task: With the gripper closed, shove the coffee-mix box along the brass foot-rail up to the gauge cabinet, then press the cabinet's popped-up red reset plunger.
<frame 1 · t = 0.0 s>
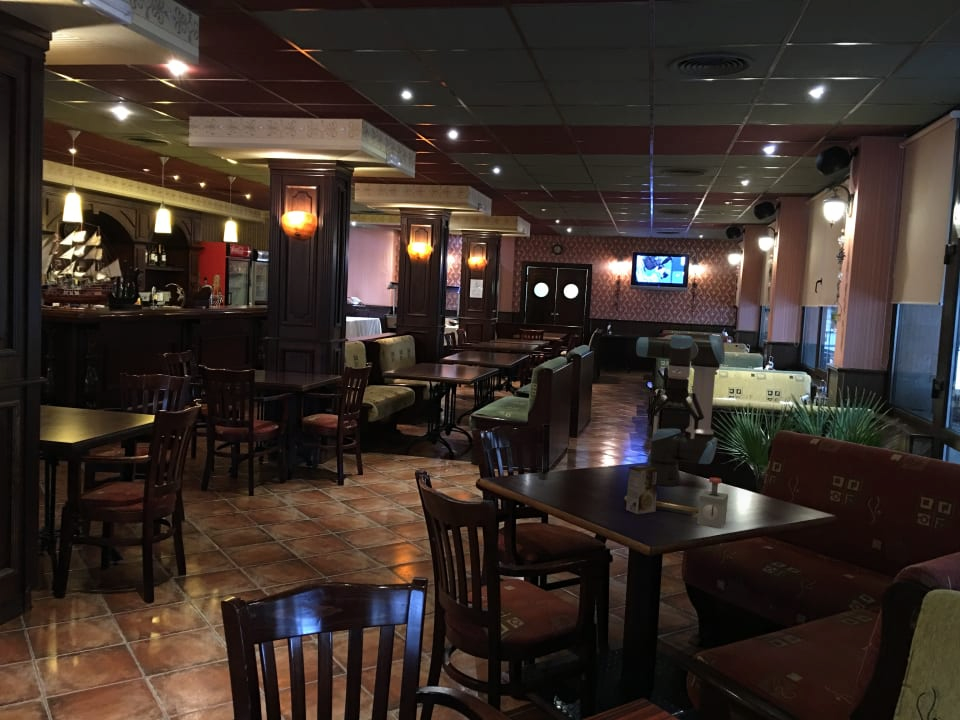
hand: (673, 435, 275), 28 cm above the table, fingers open, 13 cm apart
reset plunger: (714, 486, 264), point 13 cm above the table, slide at 0.0 cm
gauge cabinet: (711, 523, 265), on the table
coffee box: (640, 511, 275), on the table
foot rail: (663, 510, 278), on the table
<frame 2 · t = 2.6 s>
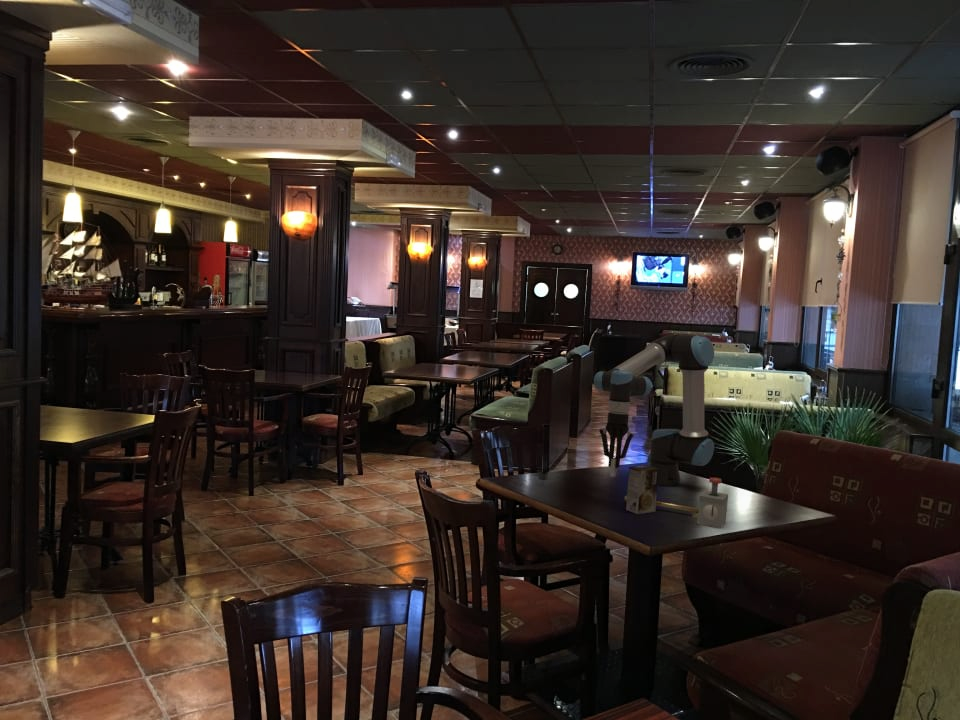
hand: (613, 476, 279), 11 cm above the table, fingers closed
nothing on the table moved.
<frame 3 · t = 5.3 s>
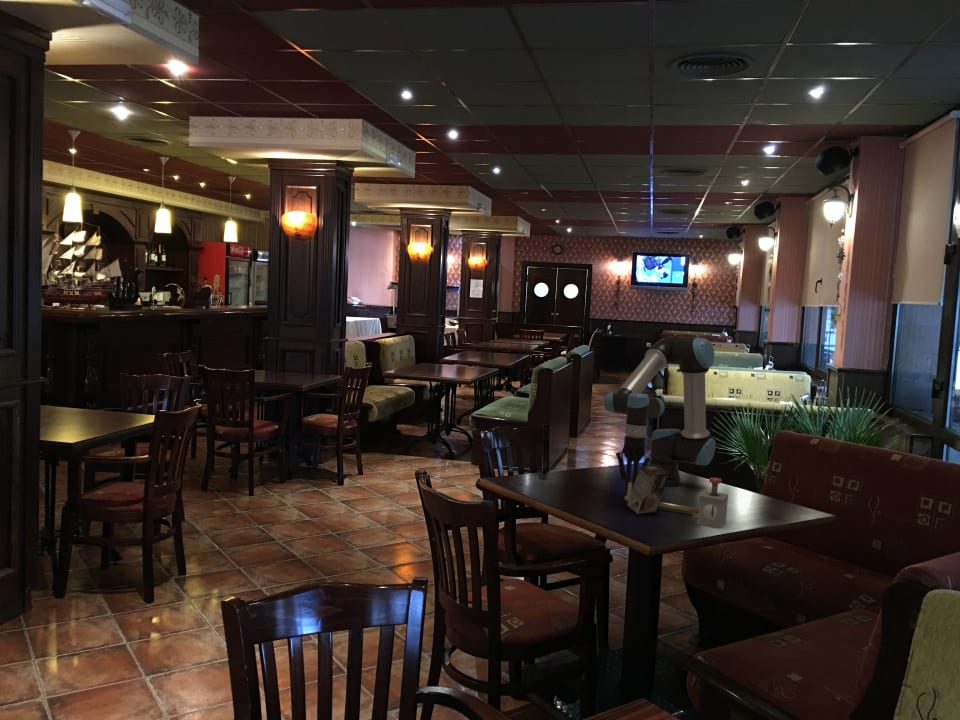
hand: (629, 499, 277), 3 cm above the table, fingers closed
coffee box: (641, 508, 275), point 1 cm above the table, touching gripper, hand
everything else where it was.
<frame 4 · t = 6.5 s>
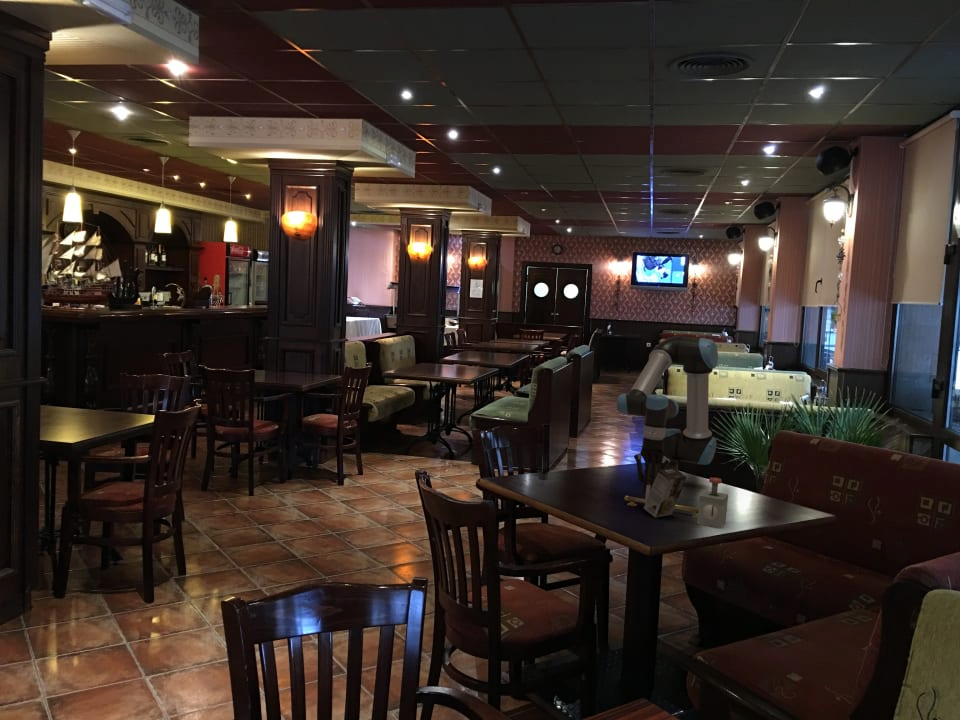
hand: (647, 502, 274), 4 cm above the table, fingers closed
coffee box: (657, 512, 272), point 1 cm above the table, touching gripper, hand
everything else where it was.
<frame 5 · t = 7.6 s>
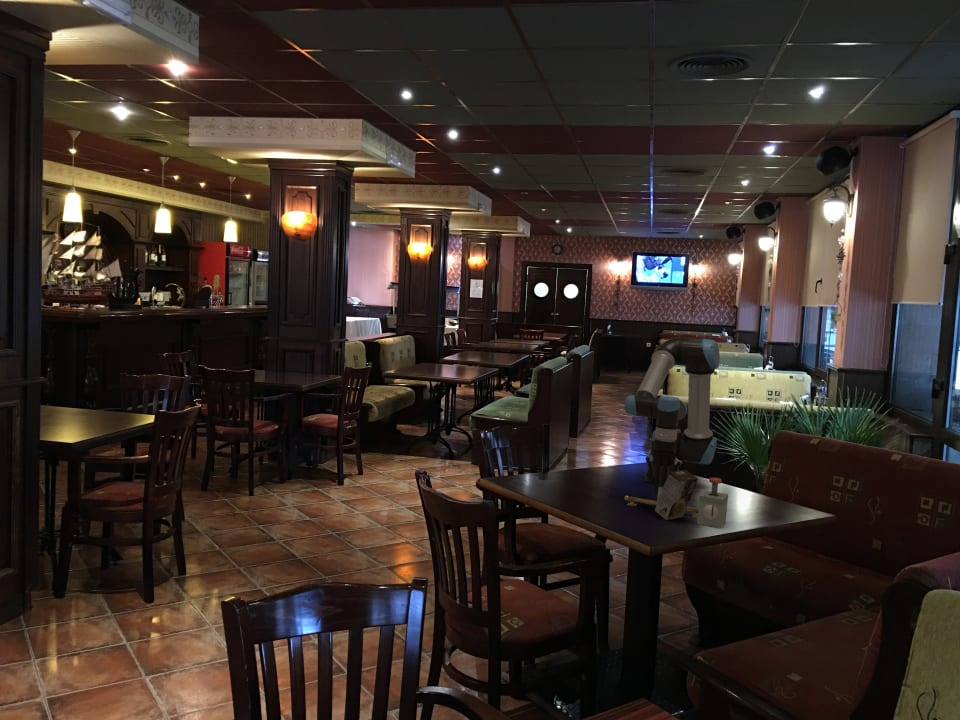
hand: (659, 504, 272), 4 cm above the table, fingers closed
coffee box: (668, 514, 269), point 1 cm above the table, touching gripper, hand
everything else where it was.
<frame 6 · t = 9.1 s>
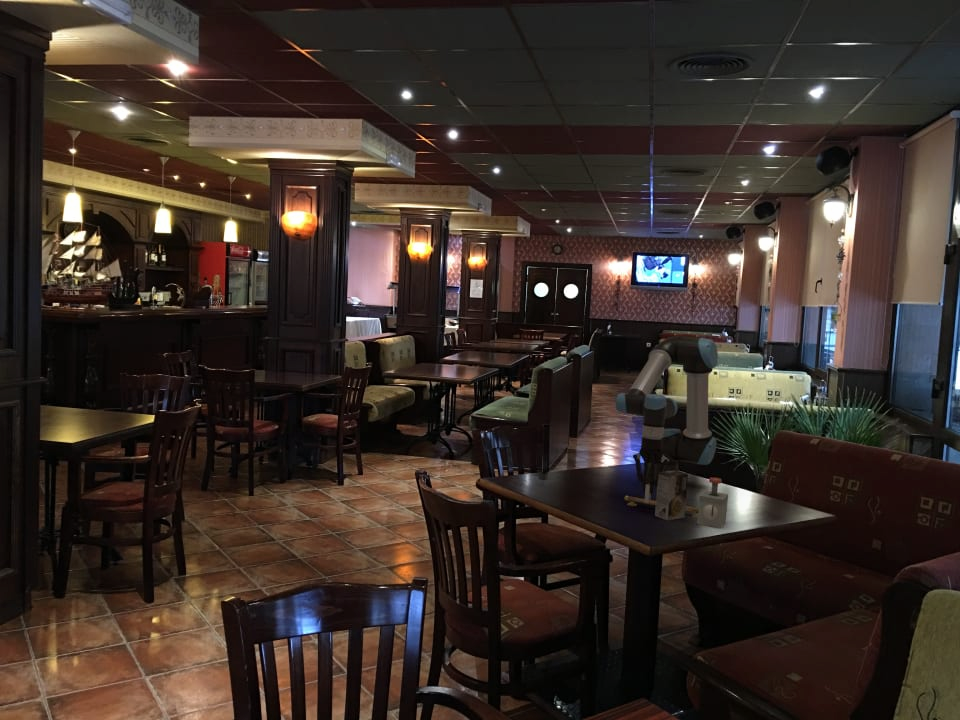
hand: (647, 501, 274), 4 cm above the table, fingers closed
coffee box: (669, 517, 269), on the table, touching hand
everything else where it was.
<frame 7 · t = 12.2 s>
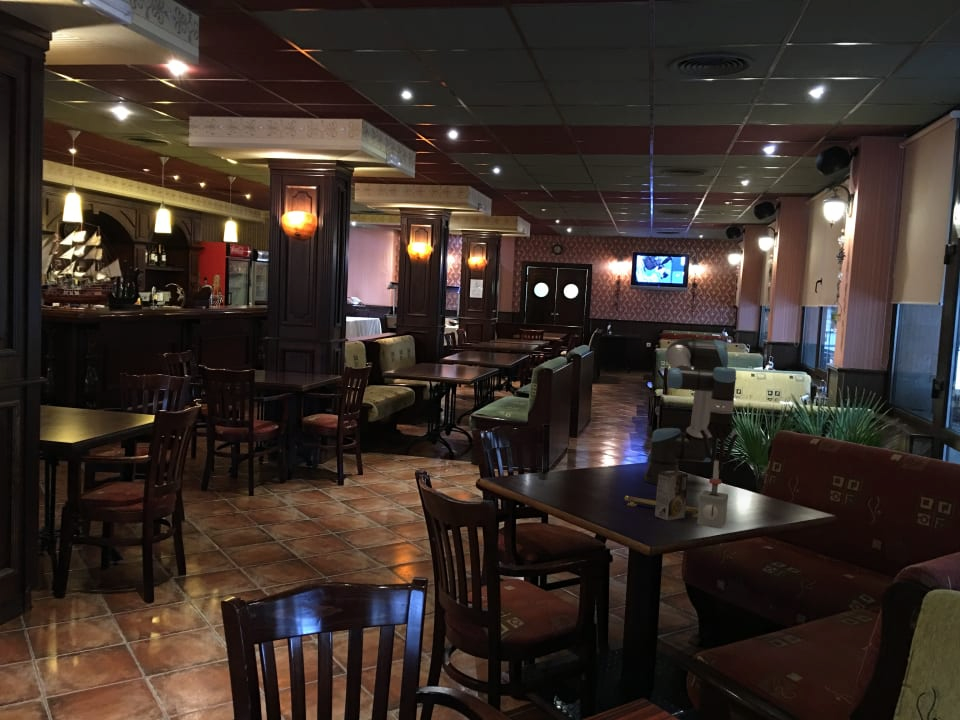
hand: (715, 478, 264), 16 cm above the table, fingers closed
reset plunger: (714, 486, 264), point 13 cm above the table, slide at 0.3 cm, touching gripper
coffee box: (669, 517, 269), on the table
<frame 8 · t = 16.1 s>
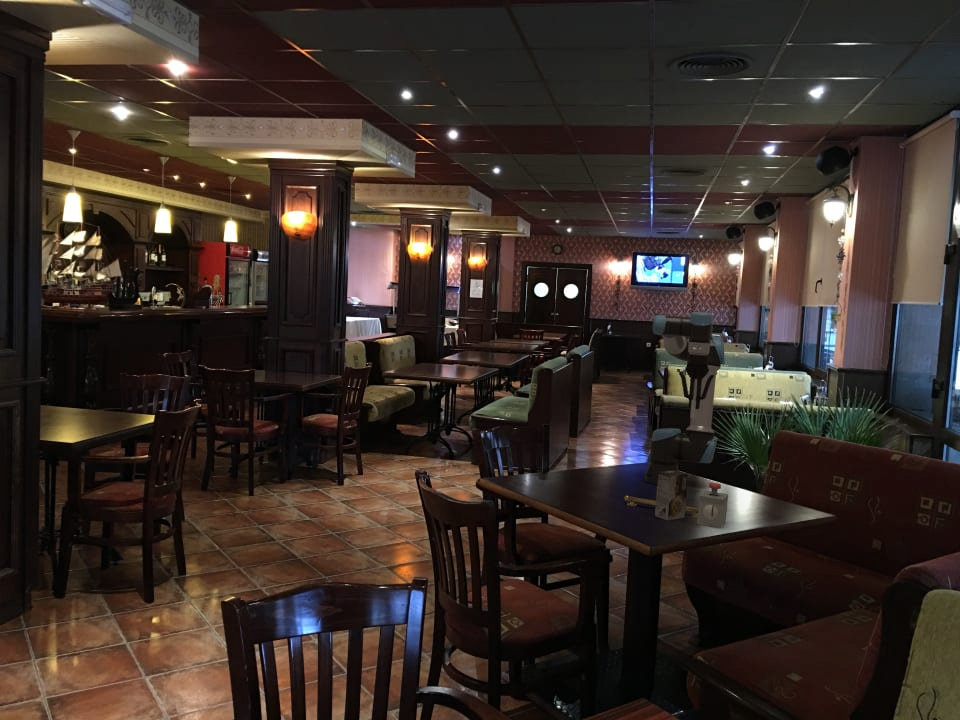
hand: (693, 417, 280), 34 cm above the table, fingers closed
reset plunger: (714, 491, 264), point 11 cm above the table, slide at 1.9 cm
everything else where it was.
at the end: coffee box inside the target area (3.4 cm from its centre), on the table; coffee box tilted 0°; reset plunger slide at 1.9 cm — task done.
